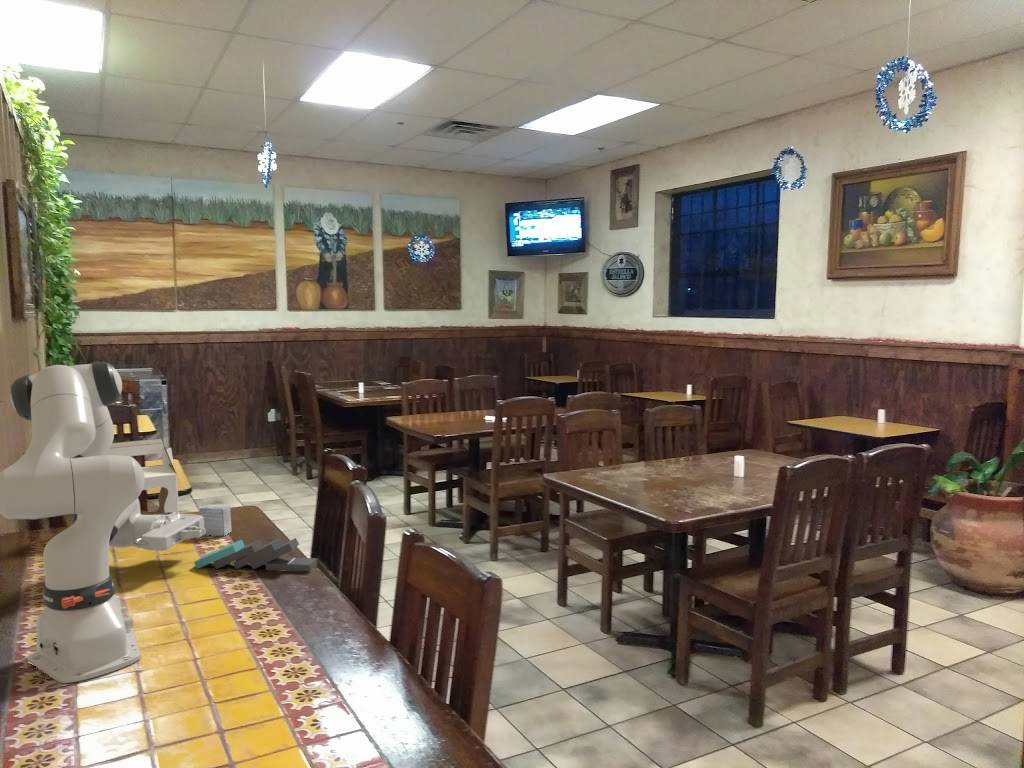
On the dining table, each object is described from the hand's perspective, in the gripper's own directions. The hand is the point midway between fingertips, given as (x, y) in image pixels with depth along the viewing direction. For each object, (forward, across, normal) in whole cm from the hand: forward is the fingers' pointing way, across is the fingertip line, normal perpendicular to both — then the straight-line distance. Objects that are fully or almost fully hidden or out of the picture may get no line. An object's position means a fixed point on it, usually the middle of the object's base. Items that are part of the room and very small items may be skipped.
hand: (202, 532), depth 191 cm
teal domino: (-1, 0, +8) cm, 8 cm away
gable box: (-38, +30, +9) cm, 49 cm away
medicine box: (-10, +26, +9) cm, 30 cm away
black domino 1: (+4, 0, +8) cm, 9 cm away
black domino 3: (+14, 0, +8) cm, 16 cm away
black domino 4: (+18, 0, +8) cm, 20 cm away
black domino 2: (+10, 0, +8) cm, 13 cm away
